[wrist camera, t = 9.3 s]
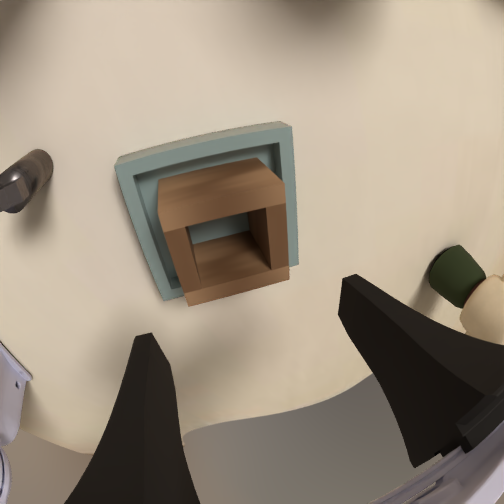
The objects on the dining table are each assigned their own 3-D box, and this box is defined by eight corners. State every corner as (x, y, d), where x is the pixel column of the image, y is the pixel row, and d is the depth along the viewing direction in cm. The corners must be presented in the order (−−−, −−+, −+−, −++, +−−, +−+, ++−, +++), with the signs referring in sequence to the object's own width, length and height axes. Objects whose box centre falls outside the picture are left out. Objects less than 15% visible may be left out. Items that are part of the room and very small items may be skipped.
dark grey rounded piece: (57, 177, 14) (28, 212, 10) (23, 192, 14) (-10, 230, 10) (46, 143, 13) (11, 170, 9) (11, 160, 12) (-27, 191, 9)
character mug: (438, 295, 34) (495, 361, 24) (407, 300, 32) (470, 379, 21) (474, 225, 28) (546, 289, 18) (447, 221, 26) (533, 296, 16)
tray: (289, 250, 22) (298, 264, 21) (162, 284, 20) (163, 301, 19) (280, 121, 16) (291, 126, 15) (118, 156, 15) (114, 166, 13)
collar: (256, 157, 17) (284, 183, 13) (265, 239, 20) (289, 279, 17) (158, 179, 16) (157, 213, 12) (181, 260, 19) (188, 306, 16)
